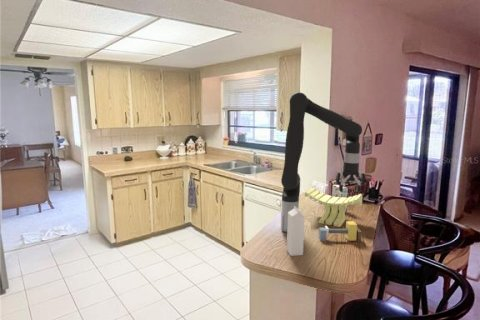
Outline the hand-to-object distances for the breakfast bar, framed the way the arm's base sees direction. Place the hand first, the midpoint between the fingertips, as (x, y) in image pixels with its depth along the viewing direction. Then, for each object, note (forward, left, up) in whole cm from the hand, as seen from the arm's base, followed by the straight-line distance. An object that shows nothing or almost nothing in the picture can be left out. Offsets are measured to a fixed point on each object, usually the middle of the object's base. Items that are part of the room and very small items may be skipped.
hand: (349, 191), depth 158 cm
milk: (-31, -22, -24) cm, 45 cm away
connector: (-15, -6, -24) cm, 29 cm away
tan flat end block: (+3, -6, -24) cm, 25 cm away
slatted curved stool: (-2, +22, -24) cm, 32 cm away
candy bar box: (+8, +43, -24) cm, 49 cm away
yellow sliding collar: (0, -6, -24) cm, 25 cm away
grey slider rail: (-6, -6, -20) cm, 22 cm away
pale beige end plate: (-13, -6, -21) cm, 25 cm away
